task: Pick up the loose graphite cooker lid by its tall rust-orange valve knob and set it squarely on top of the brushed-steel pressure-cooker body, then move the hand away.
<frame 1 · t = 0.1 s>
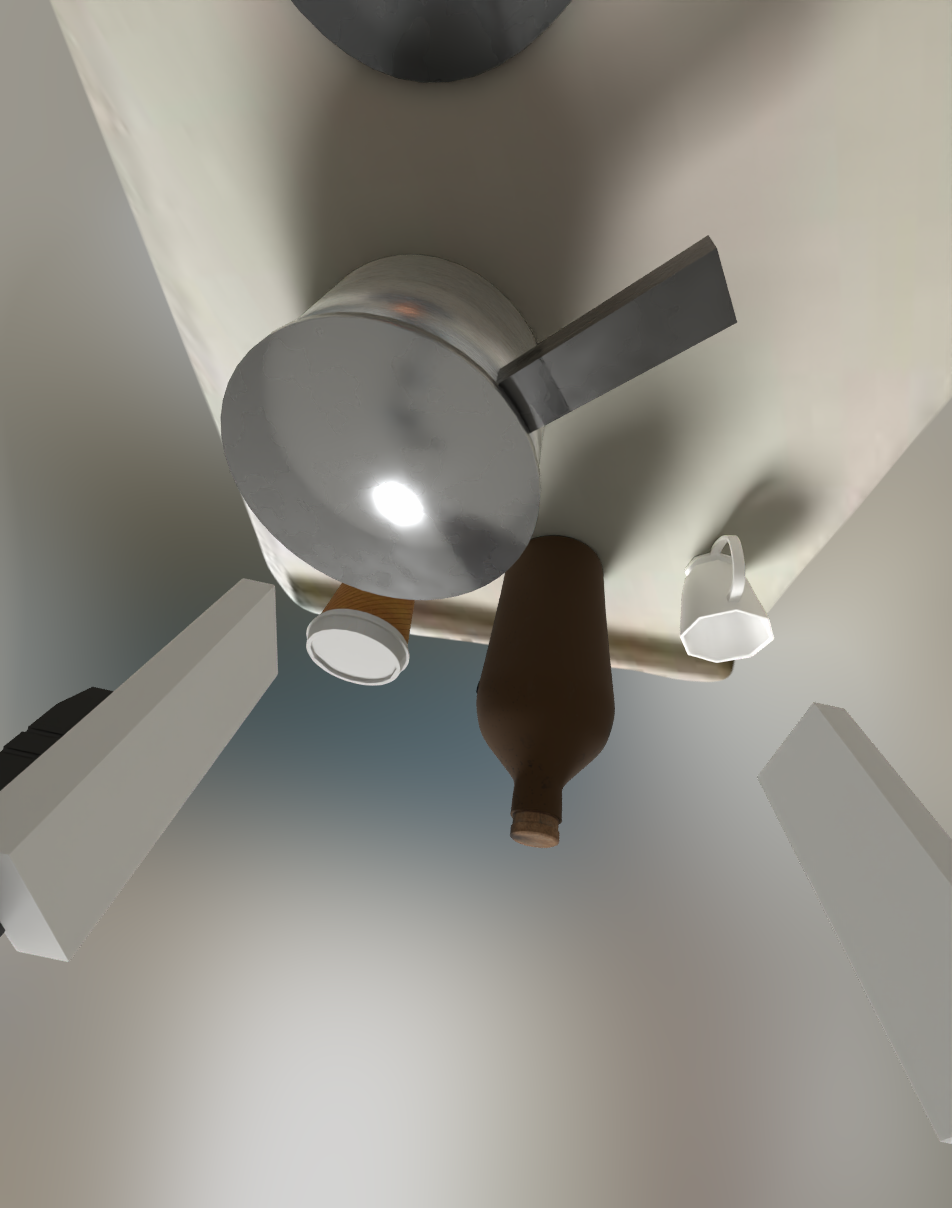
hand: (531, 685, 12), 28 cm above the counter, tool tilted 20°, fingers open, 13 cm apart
cooker body: (426, 399, 36), on the counter
cup: (713, 555, 43), on the counter
disposable coffee cup: (390, 565, 50), on the counter
olive oil: (552, 569, 47), on the counter
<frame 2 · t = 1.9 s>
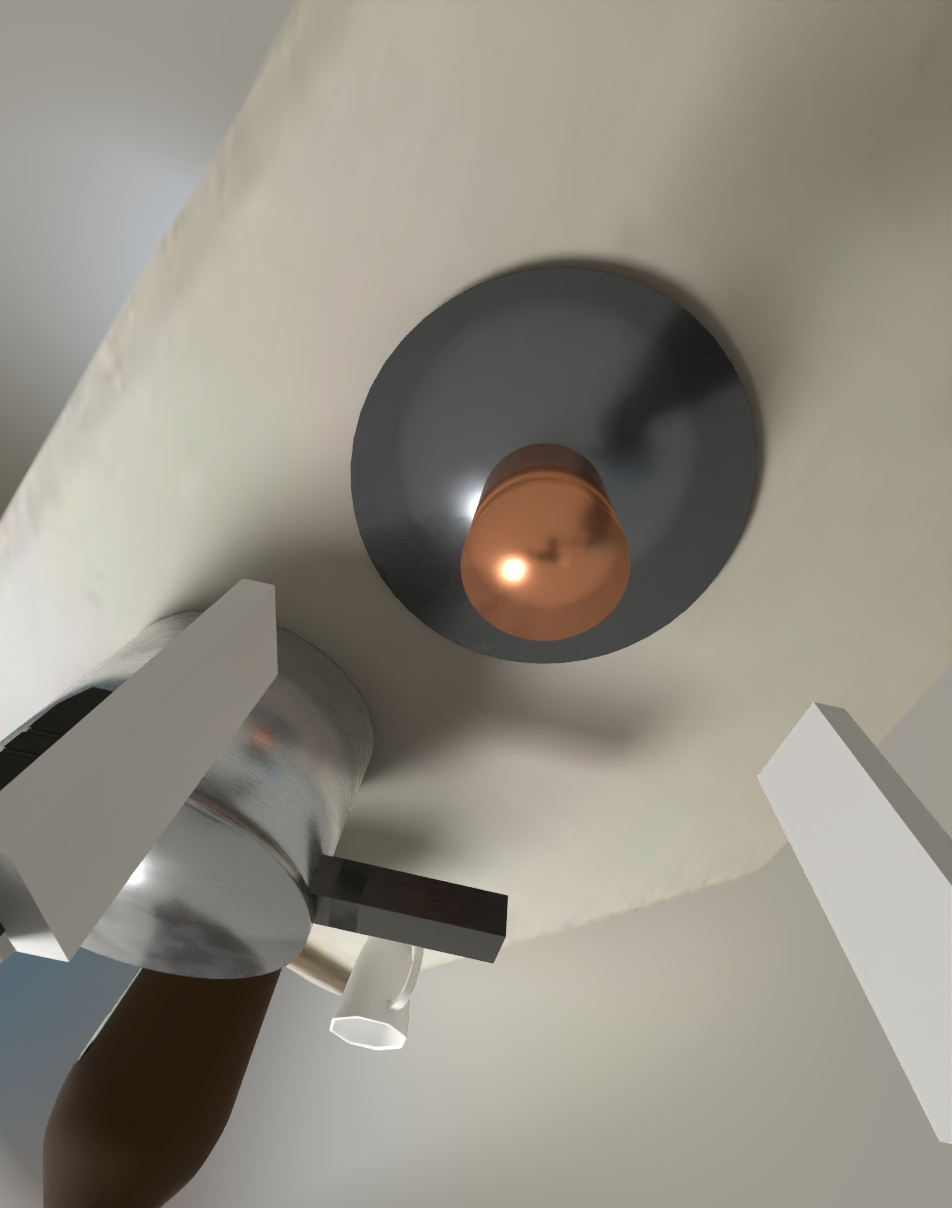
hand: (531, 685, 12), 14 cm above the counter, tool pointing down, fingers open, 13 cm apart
cooker body: (250, 718, 34), on the counter
cup: (400, 924, 47), on the counter
olive oil: (264, 867, 44), on the counter
cooker lid: (542, 500, 24), on the counter
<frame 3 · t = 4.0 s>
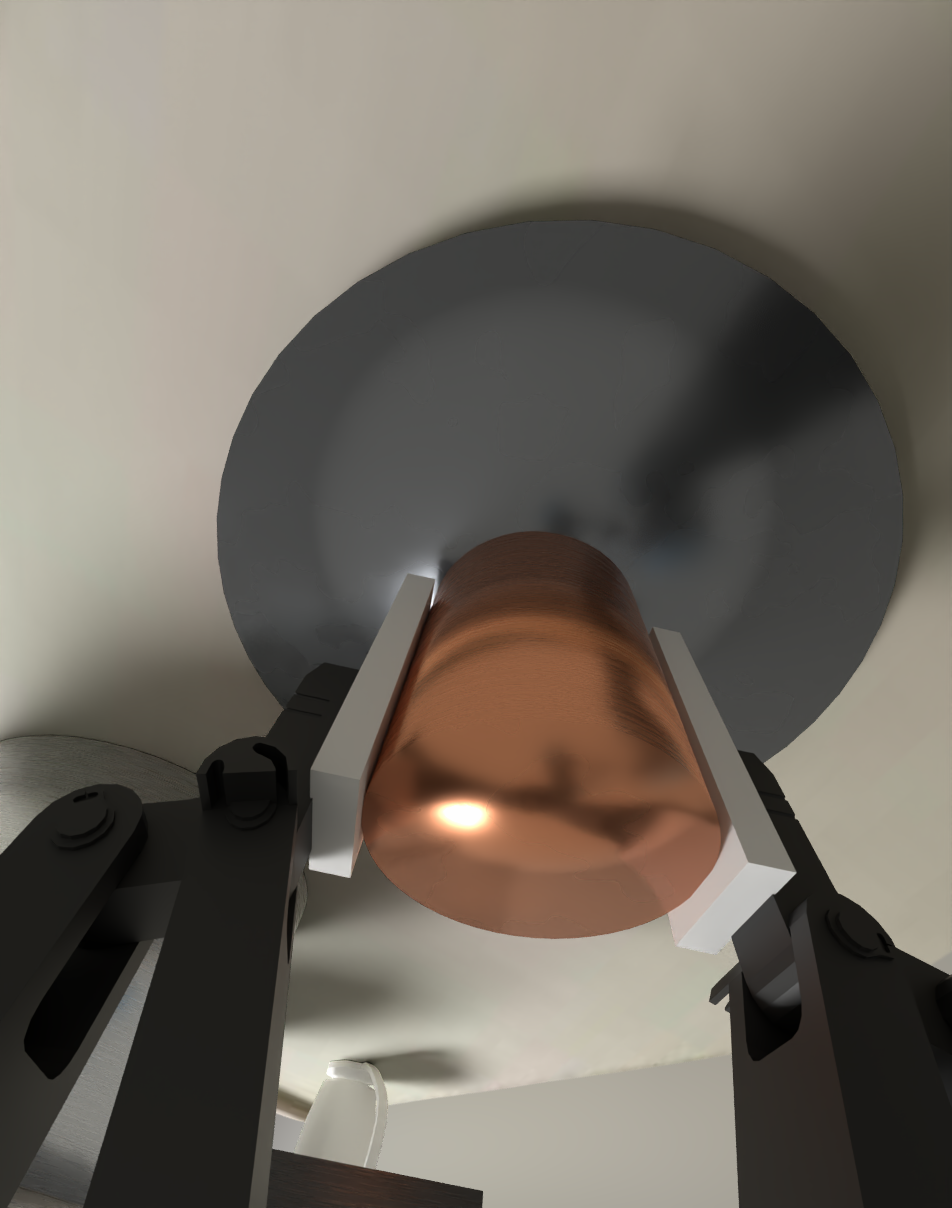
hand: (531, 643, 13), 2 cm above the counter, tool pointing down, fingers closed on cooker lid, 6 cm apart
cooker body: (140, 858, 25), on the counter
cup: (363, 1063, 38), on the counter
cooker lid: (531, 608, 15), on the counter, touching gripper
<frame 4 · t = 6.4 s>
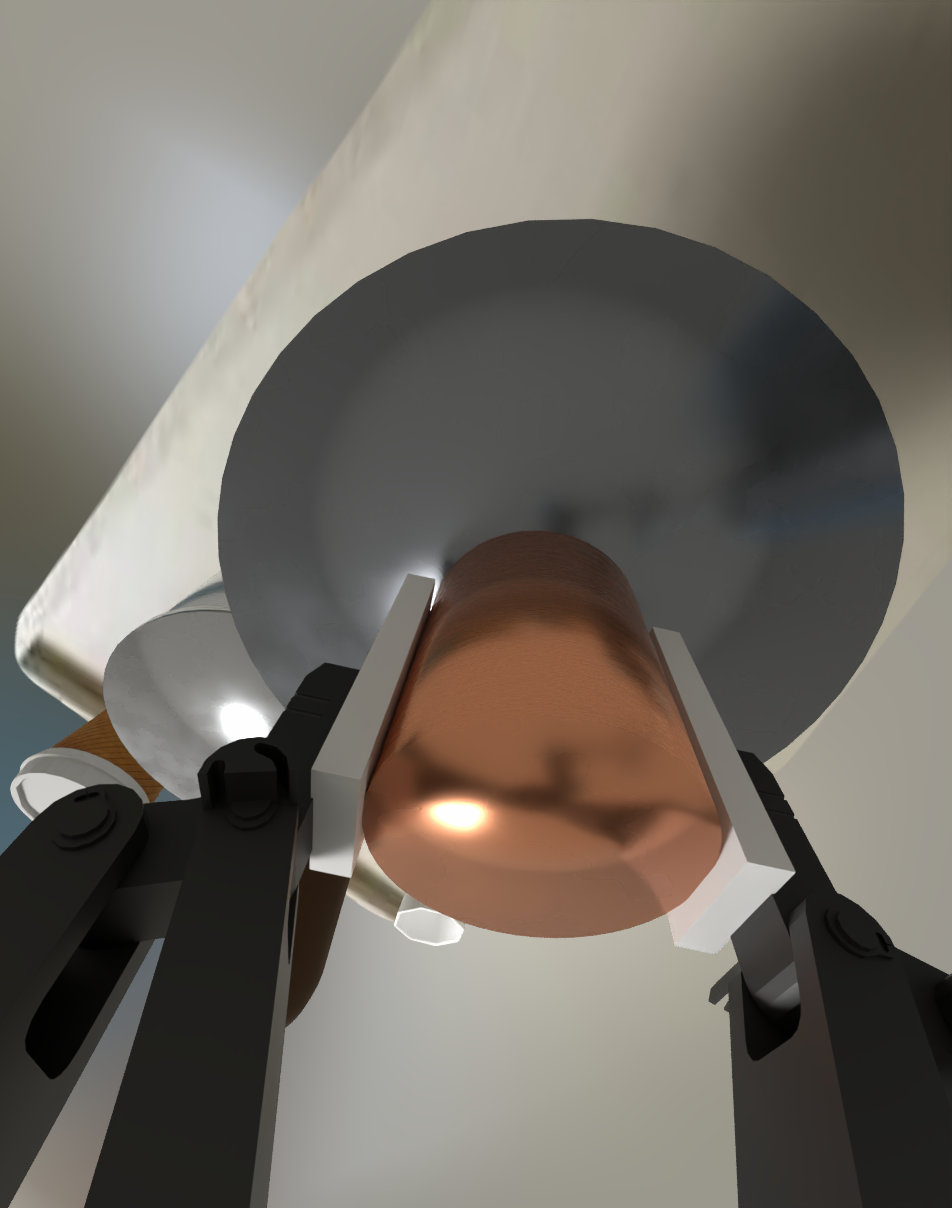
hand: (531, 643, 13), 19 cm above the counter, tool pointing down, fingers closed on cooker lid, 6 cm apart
cooker body: (332, 633, 39), on the counter
cup: (451, 840, 52), on the counter
disposable coffee cup: (178, 699, 45), on the counter
olive oil: (330, 786, 49), on the counter
cooker lid: (532, 607, 15), point 17 cm above the counter, touching gripper
when the fingers open (15 cm above the counter, at t = 8.9 s): cooker lid drops 1 cm, resting on cooker body.
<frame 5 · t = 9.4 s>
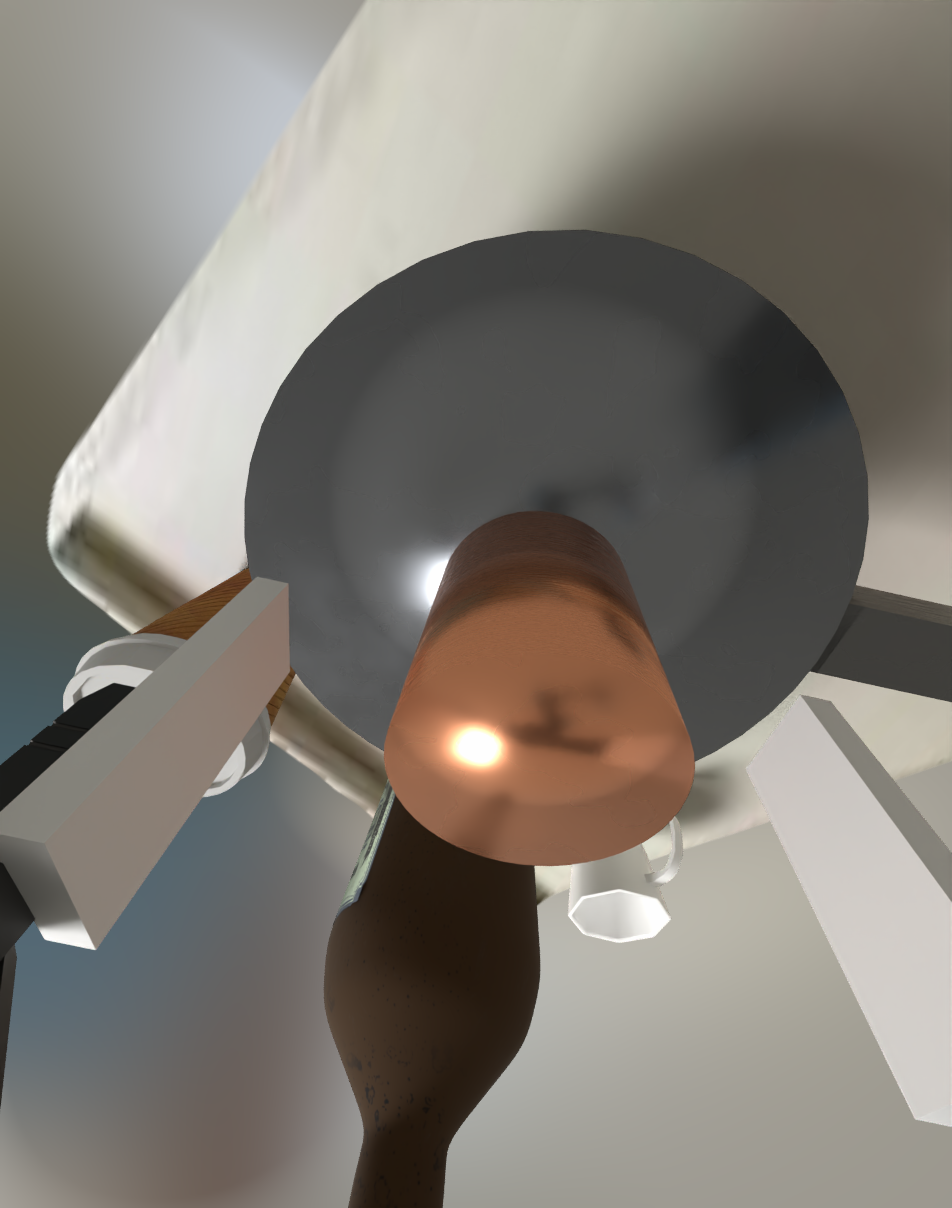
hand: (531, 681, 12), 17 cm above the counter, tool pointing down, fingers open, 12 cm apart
cooker body: (531, 485, 27), on the counter
cup: (616, 805, 40), on the counter
disposable coffee cup: (275, 605, 33), on the counter
olive oil: (467, 732, 37), on the counter
cooker lid: (532, 585, 16), point 12 cm above the counter, touching cooker body
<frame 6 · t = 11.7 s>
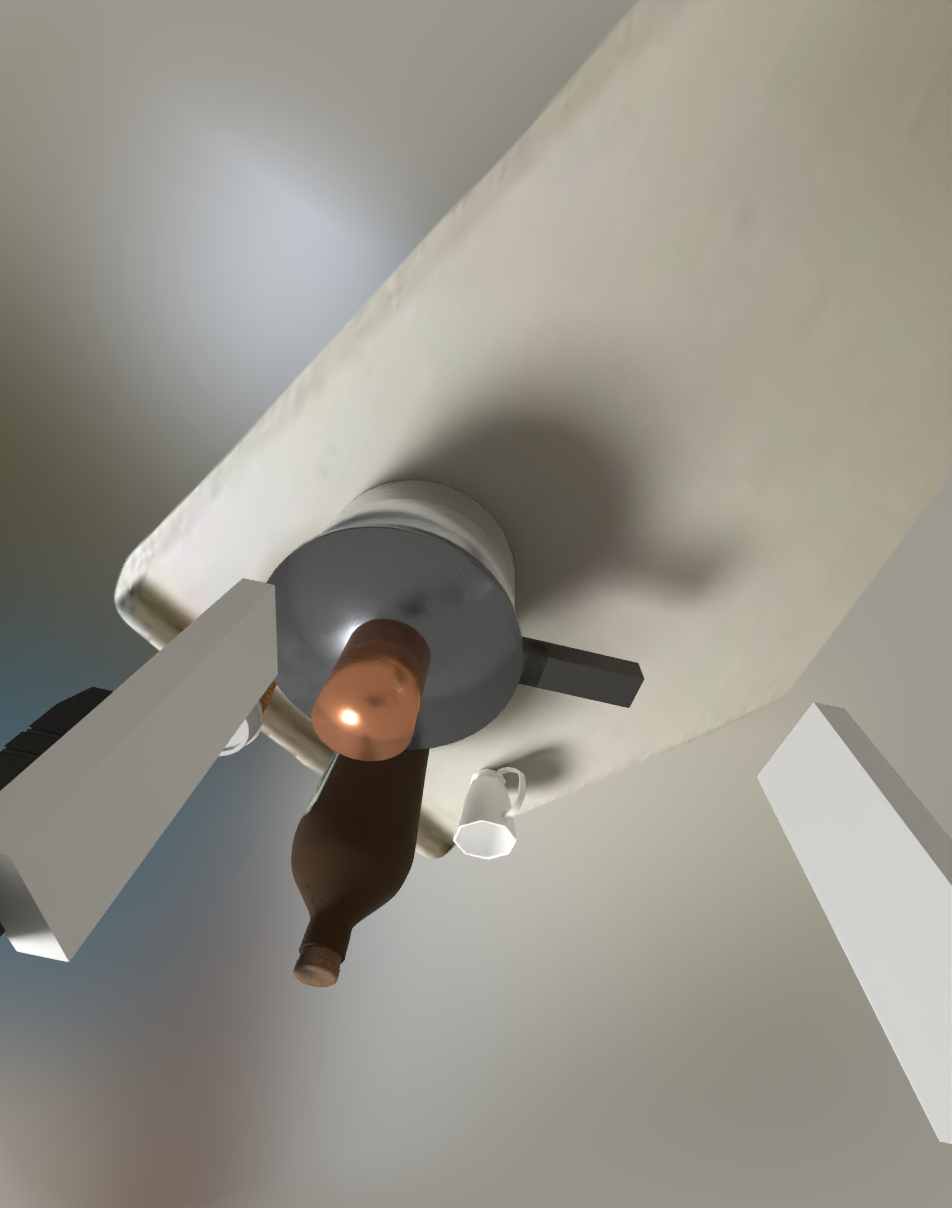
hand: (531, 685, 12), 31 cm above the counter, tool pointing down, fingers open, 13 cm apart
cooker body: (419, 574, 45), on the counter
cup: (495, 773, 58), on the counter
disposable coffee cup: (264, 639, 50), on the counter
olive oil: (392, 722, 55), on the counter
cooker lid: (392, 646, 35), point 12 cm above the counter, touching cooker body
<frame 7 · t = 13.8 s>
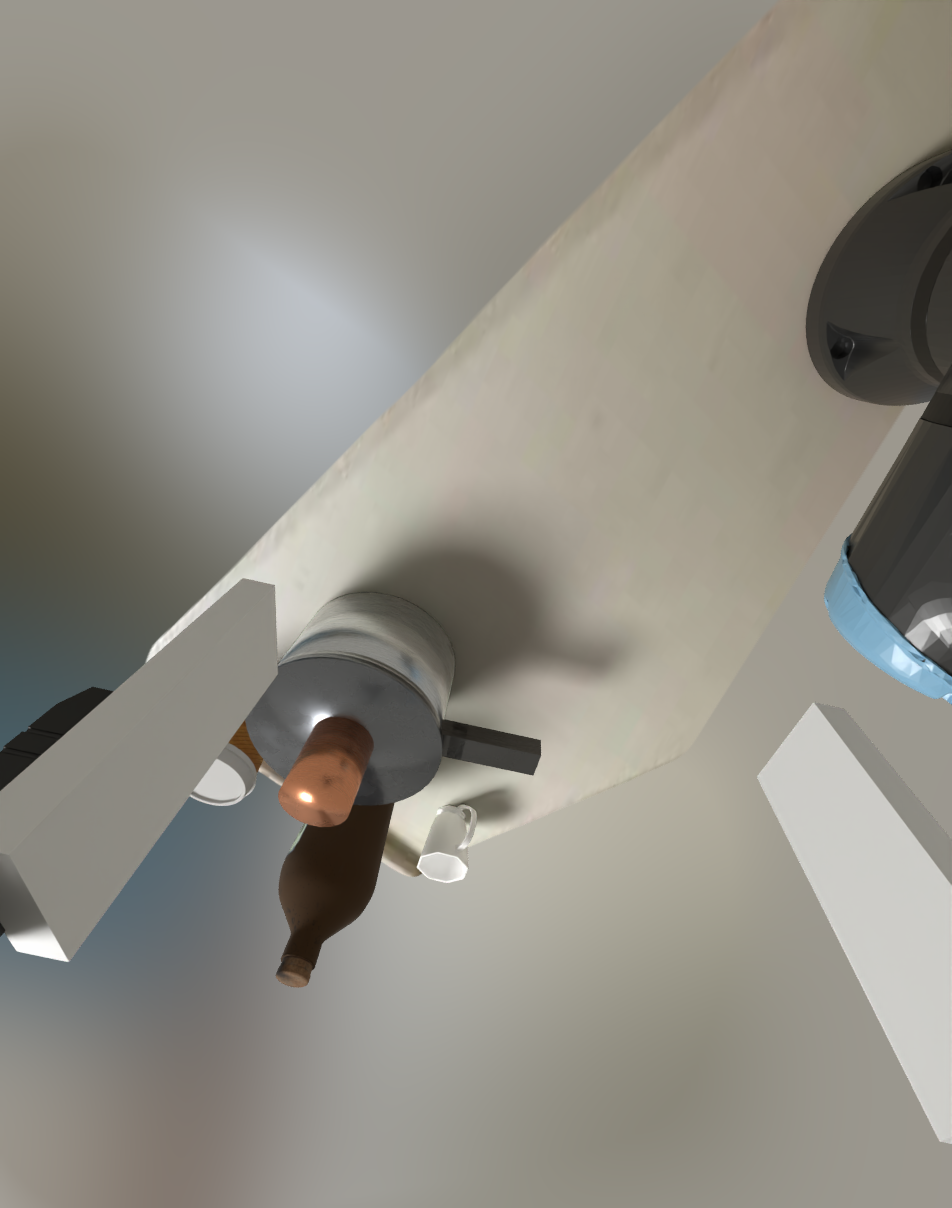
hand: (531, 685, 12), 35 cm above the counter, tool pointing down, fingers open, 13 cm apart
cooker body: (380, 658, 56), on the counter
cup: (457, 808, 69), on the counter
disposable coffee cup: (261, 704, 62), on the counter
olive oil: (368, 768, 67), on the counter
cooker lid: (346, 732, 46), point 12 cm above the counter, touching cooker body
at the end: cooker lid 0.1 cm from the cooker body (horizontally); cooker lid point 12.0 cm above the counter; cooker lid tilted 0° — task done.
